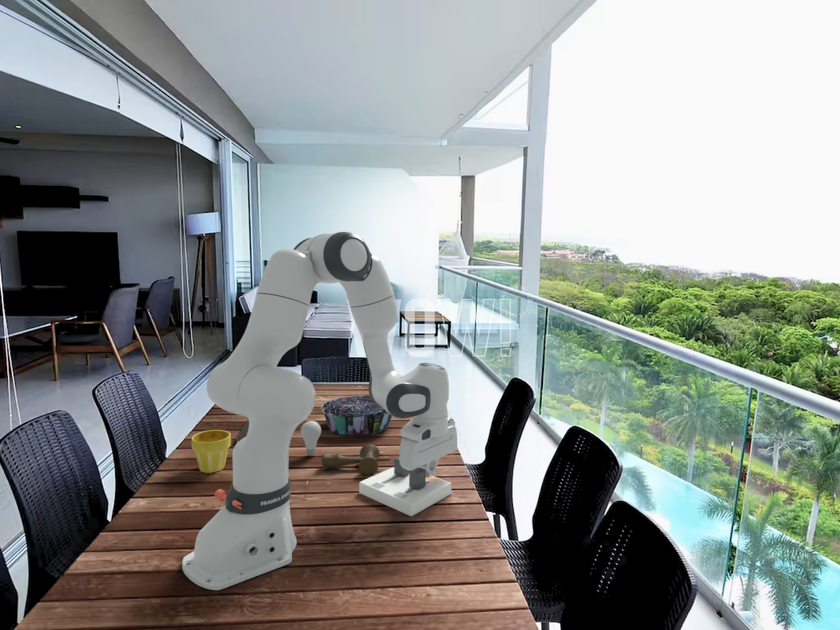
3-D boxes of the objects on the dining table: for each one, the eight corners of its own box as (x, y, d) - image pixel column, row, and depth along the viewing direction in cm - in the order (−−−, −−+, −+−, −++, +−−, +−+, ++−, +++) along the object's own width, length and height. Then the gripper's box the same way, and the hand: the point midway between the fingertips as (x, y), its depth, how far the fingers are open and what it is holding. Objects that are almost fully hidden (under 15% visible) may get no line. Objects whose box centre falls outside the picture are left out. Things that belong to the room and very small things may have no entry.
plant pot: (211, 479, 140) (210, 444, 139) (184, 471, 145) (183, 438, 143) (239, 465, 150) (238, 433, 149) (212, 459, 154) (212, 427, 153)
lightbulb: (316, 460, 154) (316, 425, 153) (297, 458, 156) (297, 423, 154) (324, 453, 160) (324, 419, 159) (305, 451, 161) (305, 417, 160)
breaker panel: (411, 516, 123) (411, 504, 122) (359, 493, 134) (359, 481, 134) (451, 493, 135) (451, 482, 135) (400, 474, 146) (400, 463, 146)
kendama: (324, 464, 154) (391, 462, 155) (319, 478, 144) (391, 476, 145) (323, 445, 153) (390, 443, 154) (319, 458, 143) (390, 456, 145)
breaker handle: (402, 477, 137) (402, 461, 136) (394, 473, 139) (394, 458, 138) (409, 473, 139) (410, 458, 139) (401, 470, 141) (401, 455, 141)
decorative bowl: (405, 439, 180) (407, 411, 179) (327, 442, 169) (329, 413, 168) (382, 417, 203) (384, 393, 202) (312, 419, 192) (314, 393, 191)
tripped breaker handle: (418, 490, 130) (418, 473, 129) (409, 486, 131) (409, 470, 131) (425, 486, 132) (425, 469, 131) (416, 482, 134) (417, 466, 133)
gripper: (445, 413, 144) (443, 461, 145) (395, 431, 128) (394, 484, 130) (463, 418, 140) (462, 467, 141) (415, 437, 124) (413, 492, 126)
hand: (429, 475), depth 135 cm, fingers closed
